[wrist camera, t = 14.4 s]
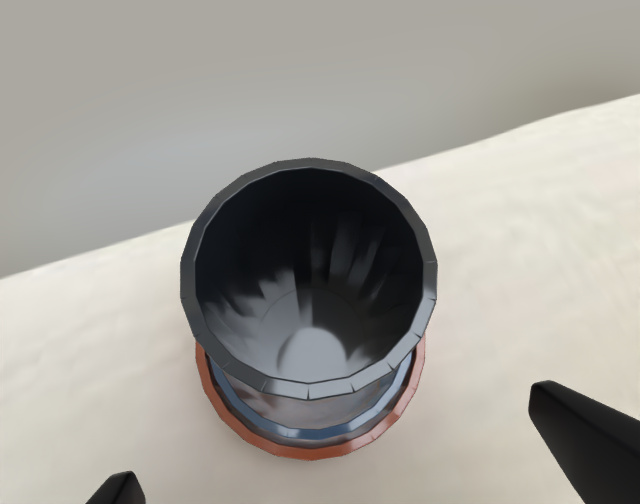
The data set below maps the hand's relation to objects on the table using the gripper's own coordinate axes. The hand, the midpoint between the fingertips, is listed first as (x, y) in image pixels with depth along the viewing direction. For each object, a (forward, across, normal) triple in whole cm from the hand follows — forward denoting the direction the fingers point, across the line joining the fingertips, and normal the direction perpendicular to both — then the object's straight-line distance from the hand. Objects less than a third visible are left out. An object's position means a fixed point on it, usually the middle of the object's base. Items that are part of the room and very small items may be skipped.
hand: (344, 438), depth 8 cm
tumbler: (+12, 0, +6) cm, 13 cm away
